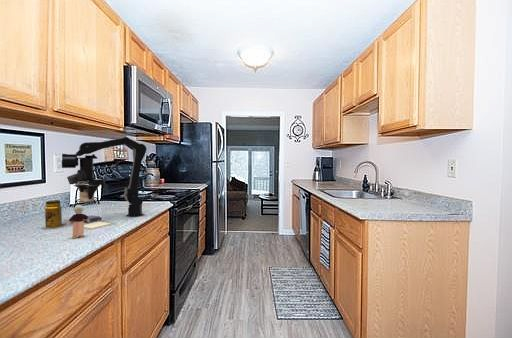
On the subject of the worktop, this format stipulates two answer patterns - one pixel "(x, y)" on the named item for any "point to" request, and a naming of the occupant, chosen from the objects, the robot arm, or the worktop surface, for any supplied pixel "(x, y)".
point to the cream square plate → (97, 225)
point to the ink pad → (92, 218)
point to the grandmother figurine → (78, 222)
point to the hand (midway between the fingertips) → (87, 199)
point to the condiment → (53, 215)
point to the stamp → (85, 197)
